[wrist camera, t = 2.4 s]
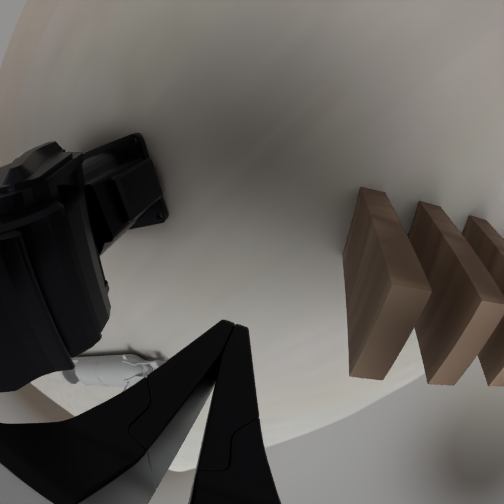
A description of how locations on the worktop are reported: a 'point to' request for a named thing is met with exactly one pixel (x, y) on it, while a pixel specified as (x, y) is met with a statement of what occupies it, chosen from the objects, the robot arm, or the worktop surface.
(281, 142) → the worktop surface
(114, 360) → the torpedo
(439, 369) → the domino
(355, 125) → the worktop surface
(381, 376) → the domino
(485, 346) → the domino
